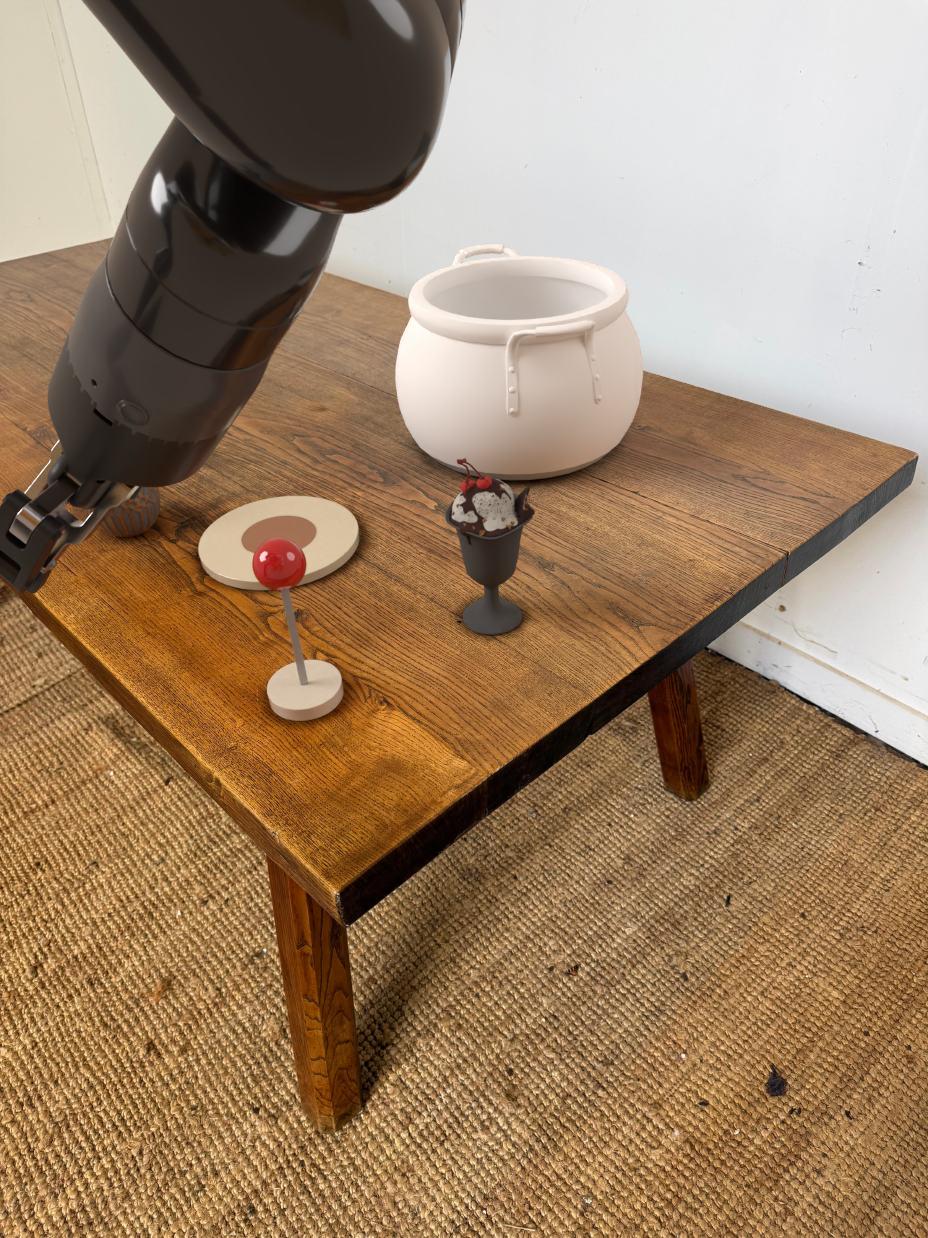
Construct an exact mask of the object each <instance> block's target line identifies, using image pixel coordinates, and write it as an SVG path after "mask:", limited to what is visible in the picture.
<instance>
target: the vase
mask: <svg viewBox="0 0 928 1238" xmlns="http://www.w3.org/2000/svg"><path fill="white" fill-rule="evenodd" d="M86 510H87V512H88V514H89V516H90V514H91V513H92V512H93V511H94V509H86ZM160 511H161V492H160V487H144V489H143V491H142V492H141V493H140V494H139V495H138V496H137V497H136V498H135V499H133V500H132V499H128V500H127V501H126V502H124V503H122V504H120V505H119V506H117V507H115V508H114V509H113V510H112V512H111V513H110V514H109V515H108V516H107V518H106V519H105V520H104V521H103V522H102V524H101V525H100V526H99V527H98V528H100V529H101V530H103V531H104V532H106V533H108V534H110V535H113V536H115V537H119V538H131V537H135V536H138V535H141V534H143V533H145V532H147V531H149V530H150V529H151V528H152V527H153V525H154V524H155V523H156V521H157V519H158V517H159V515H160Z"/></svg>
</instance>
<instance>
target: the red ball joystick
mask: <svg viewBox="0 0 928 1238" xmlns="http://www.w3.org/2000/svg"><path fill="white" fill-rule="evenodd" d="M306 567H307V562H306V557H305V554H304V552H303V550H302V549H301V548H300V547H299V545H297V544H296V543H295V542H293V541H292V540H289V539H286V538H272V539H269V540H267V541H265V542H263V543H262V544H261V545H260V546H259V547H258V548H257V549H256V551H255V553H254V556H253V560H252V568H253V572H254V575H255V577H256V579H257V580H258V581H259V582H260V583H261V584H262V585H263V586H265V587H266V588H268V589H271V590H270V591H275V592H280V595H281V600H282V605H283V609H284V614H285V619H286V623H287V630H288V632H289V637H290V643H291V647H292V652H293V656H294V662H290V663H289V664H286V665H284V666H282V667H281V668H280V669H278V670H277V671H275V673H274V674H273V675H272V676H270V678H269V680H268V683H267V686H266V694H267V698H268V701H269V702H268V703H269V706H270V708H271V710H272V711H273V712H274V713H275V714H276V715H277V716H279V717H280V718H282V719H285V720H288V721H294V722H306V721H312V720H315V719H319V718H322V717H324V716H326V715H327V714H329V713H331V712H332V711H334V710H335V709H336V708H337V706H339V704H340V703H341V701H342V699H343V697H344V694H345V693H344V691H345V690H344V682H343V678H342V677H343V676H342V674H341V672H340V670H339V669H338V667H336V666H334V665H333V664H331V663H330V662H327V661H325V660H320V659H304V655H303V649H302V644H301V639H300V636H299V635H300V634H299V630H298V625H297V620H296V614H295V610H294V606H293V600H292V596H291V591H290V590H291V589H293V588H295V587H297V586H296V585H297V584H299V583H300V581H301V580H302V579H303V577H304V575H305V572H306Z"/></svg>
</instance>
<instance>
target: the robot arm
mask: <svg viewBox="0 0 928 1238" xmlns="http://www.w3.org/2000/svg"><path fill="white" fill-rule="evenodd" d="M81 2H82V4H84V5H85V7H86V8H87V9H88V10H89V12H91V14H92V15H93V16H94V17H95V18H96V19H97V21H98V22H99V23H100V24H101V26H102V27H103V28H104V29H105V30H106V32H107V33H108V34H109V35H110V37H111V38H112V39H113V40H114V42H115V43H116V44H117V46H118V47H119V48H120V49H121V50H122V51H123V53H124V54H125V55H126V56H127V58H128V59H129V60H130V62H131V63H132V64H133V66H135V68H136V70H138V71H139V73H140V74H141V76H143V78H144V79H145V80H146V81H147V83H148V84H149V85H150V86H151V88H152V89H153V90H154V91H155V92H156V94H157V95H158V96H159V98H160V99H161V100H162V101H163V102H164V104H165V105H166V106H167V108H168V109H169V110H170V111H171V112H172V113H173V114H174V116H173V117H172V119H171V121H170V123H169V125H168V126H167V127H166V129H165V131H164V133H163V134H162V136H161V138H160V139H159V140H158V142H157V144H156V146H154V148H153V150H152V152H151V154H150V155H149V157H148V158H147V160H146V162H145V164H144V166H143V167H142V170H141V171H140V173H139V175H138V177H137V179H136V181H135V184H134V186H133V188H132V190H131V192H130V194H129V196H128V199H127V202H126V205H125V207H124V209H123V211H122V215H121V217H120V220H119V223H118V225H117V227H116V230H115V232H114V234H113V237H112V241H111V242H110V245H109V247H108V250H107V252H106V254H105V256H104V257H103V258H102V260H101V261H100V263H99V264H98V265H97V266H96V269H95V270H94V272H93V274H92V275H91V277H90V279H89V280H88V283H87V284H86V287H85V289H84V292H83V294H82V297H81V300H80V302H79V305H78V308H77V309H76V312H75V315H74V318H73V321H72V323H71V325H70V328H69V331H68V334H67V336H66V338H65V341H64V344H63V346H62V349H61V352H60V354H59V356H58V360H57V362H56V364H55V367H54V370H53V372H52V375H51V377H50V381H49V384H48V389H47V405H48V406H47V408H48V412H49V416H50V420H51V422H52V426H53V428H54V430H55V433H56V435H57V438H58V440H57V442H56V443H55V445H54V446H53V447H52V448H51V450H50V453H49V456H50V460H49V461H48V463H46V465H45V466H44V468H42V470H41V471H40V473H39V474H38V475H37V477H36V478H35V479H34V480H33V481H32V482H31V484H30V485H29V487H28V488H27V489H26V490H25V491H24V492H23V491H22V490H20V488H17V489H15V490H14V491H12V492H9V493H7V494H6V495H5V496H4V497H3V498H2V500H1V504H0V577H1V578H2V579H4V580H5V581H6V582H7V583H9V584H10V585H11V586H12V588H14V589H15V590H16V591H18V592H19V593H22V594H25V592H27V593H29V594H34V595H35V594H36V593H37V592H39V590H41V589H42V588H43V587H44V586H45V585H46V582H47V581H48V579H49V577H50V575H51V573H52V571H53V570H54V569H55V568H56V567H57V565H59V564H58V563H59V562H58V561H59V559H61V558H62V556H63V555H64V554H65V552H66V551H67V550H68V549H69V548H70V546H71V545H72V546H78V545H80V544H82V543H83V542H85V541H87V540H89V539H91V537H92V536H93V535H94V534H95V533H96V531H97V530H98V529H99V528H100V527H99V526H100V525H101V524H102V522H103V521H104V520H105V519H106V518H107V516H108V515H109V514H110V513H111V512H112V510H113V509H114V508H115V507H117V506H119V505H120V504H122V503H124V502H126V501H127V500H128V499H132V500H133V499H135V498H136V497H137V496H138V495H139V494H140V493H141V492H142V491H143V489H144V487H158V488H163V487H168V486H173V485H176V484H179V483H181V482H185V481H186V480H188V479H189V478H191V477H193V476H194V475H195V474H196V473H197V472H199V471H200V470H201V469H202V468H203V466H204V465H205V464H206V462H207V461H208V459H209V458H210V457H211V455H212V454H213V452H214V451H215V450H216V448H217V447H218V446H219V444H220V443H221V441H222V439H223V438H224V436H225V435H226V434H227V432H228V431H229V430H230V428H231V427H232V425H233V424H234V422H235V421H236V419H237V417H239V415H240V414H241V412H242V411H243V409H244V408H245V406H246V404H247V403H248V402H249V400H250V399H251V397H252V396H253V395H254V394H255V392H256V390H257V389H258V387H259V385H260V383H261V381H262V380H263V377H264V375H265V373H266V371H267V369H268V367H269V364H270V361H271V359H272V357H273V355H274V353H275V351H276V350H277V349H278V347H279V346H280V344H281V343H282V342H283V340H284V339H285V337H286V335H287V334H288V332H290V329H291V328H292V327H293V325H294V324H295V322H296V321H297V319H298V318H299V316H300V315H301V313H302V311H303V310H304V308H305V307H306V306H307V304H308V303H309V301H310V299H311V298H312V296H313V294H314V292H315V291H316V289H317V288H318V285H319V283H320V281H321V279H322V277H323V275H324V273H325V270H326V267H327V265H328V262H329V260H330V257H331V254H332V251H333V248H334V245H335V242H336V239H337V236H338V233H339V229H340V227H341V224H342V222H343V219H344V217H345V215H355V214H361V213H366V212H369V211H373V210H376V209H378V208H380V207H382V206H385V205H387V204H389V203H390V202H392V201H394V200H395V199H397V198H398V197H399V196H400V195H401V194H403V193H404V192H405V191H406V190H407V189H408V188H409V187H410V186H411V185H412V184H413V183H414V182H415V181H416V179H417V178H418V176H420V174H421V172H422V171H423V169H424V168H425V166H426V164H427V162H428V160H429V159H430V157H431V155H432V152H433V150H434V148H435V146H436V143H437V141H438V138H439V134H440V131H441V128H442V123H443V121H444V116H445V111H446V107H447V102H448V99H449V98H448V97H449V94H450V93H449V92H450V87H451V84H452V83H451V82H452V78H453V74H454V71H455V70H454V69H455V66H456V61H457V57H458V53H459V49H460V45H461V40H462V35H463V31H464V26H465V17H466V11H467V0H81ZM67 505H70V506H71V507H75V508H78V509H84V510H87V509H94V511H93V512H92V513H91V514H90V515H89V516H88V517H87V518H86V519H85V520H84V521H83V520H80V519H79V518H77V516H75V515H74V514H73V513H72V512H70V511H68V510H67V509H66V508H65V507H67Z"/></svg>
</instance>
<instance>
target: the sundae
mask: <svg viewBox="0 0 928 1238" xmlns="http://www.w3.org/2000/svg"><path fill="white" fill-rule="evenodd" d="M457 463H458V464H461V465H463V466H464V467H466V469H467V474H466V478H465V480H464V481H462V482H461V484H460V491H461V492H460V493H459V494H458V495H457V496H456V498H455V499H453V500H452V501H451V503H450V504H449V505H448V506H447V509H446V511H445V514H444V515H445V516H444V517H445V518H444V519H445V522H446V523H447V524H448V525H449V526H451V527H452V528H454V529H455V531H456V534H457V537H458V540H459V545H460V551H461V556H462V562H463V565H464V569H465V571H466V574H467V576H468V577H469V578H470V579H472V580H473V581H474V582H475V583H476V584H478V585H481V586H483V598H481V599H478V600H475V601H473V602H472V603H471V604H469V605H468V606H466V607H465V609H464V611H463V613H462V622H463V624H464V625H465V626H466V627H467V628H468V629H469V630H471V631H473V632H474V633H477V634H480V635H486V636H496V635H503V634H507V633H509V632H511V631H512V630H514V629H515V628H517V627H518V626H519V625H520V623H521V621H522V619H523V615H522V614H523V613H522V610H521V609H520V607H519V606H517V604H516V603H514V602H512V601H510V600H508V599H505V598H502V597H500V586H501V585H503V584H505V582H507V581H508V580H510V578H511V577H512V576H513V575H514V574H515V572H516V568H517V566H518V565H517V564H518V560H519V554H520V547H521V538H522V534H523V530H524V526H526V525H527V524H528V523H530V522H531V520H533V518H534V515H535V513H536V511H535V509H534V508H533V507H532V506H531V505H530V503H529V502H528V501H529V495H530V489H531V488H530V486H529V485H527V486H526V487H525V488H524V489H522V491H520V493H519V494H516V493H514V492H513V490H512V488H511V486H510V485H509V484H508V483H505V482H504V481H503V480H500V479H494V478H490V477H488V476H481V474H480V473H479V472H478V471H477V470H476V469H475V468H474V467H473V466H472V465H471V464H470V463H468V462H466V458H464V459H457ZM463 463H466V464H468V465H469V466H471V467H472V469H473V470H474V471H475V472H476V473H477V474H478V475H479V477H478V478H477V480H476V481H474V480H471V479H470V476H471V475H470V473H469V469H468V467H467V466H466V465H464V464H463Z"/></svg>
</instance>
